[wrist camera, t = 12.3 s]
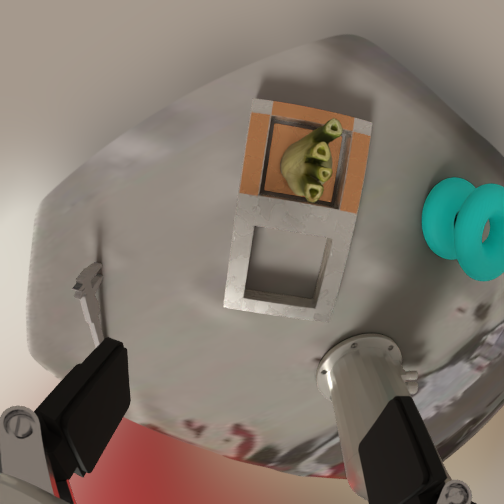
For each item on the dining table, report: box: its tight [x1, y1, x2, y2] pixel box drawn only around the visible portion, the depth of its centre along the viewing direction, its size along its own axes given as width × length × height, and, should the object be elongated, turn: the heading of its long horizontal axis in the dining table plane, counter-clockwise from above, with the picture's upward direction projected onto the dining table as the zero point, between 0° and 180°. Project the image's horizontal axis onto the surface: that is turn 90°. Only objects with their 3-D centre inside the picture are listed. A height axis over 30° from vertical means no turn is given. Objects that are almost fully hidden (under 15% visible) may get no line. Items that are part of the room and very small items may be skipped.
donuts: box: [422, 177, 504, 281], centre depth 24 cm, size 10×10×10 cm
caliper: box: [72, 262, 104, 347], centre depth 34 cm, size 20×1×6 cm, turn 171°
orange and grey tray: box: [224, 98, 372, 322], centre depth 29 cm, size 12×22×3 cm, turn 172°
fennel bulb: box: [280, 118, 343, 202], centre depth 23 cm, size 6×5×12 cm
